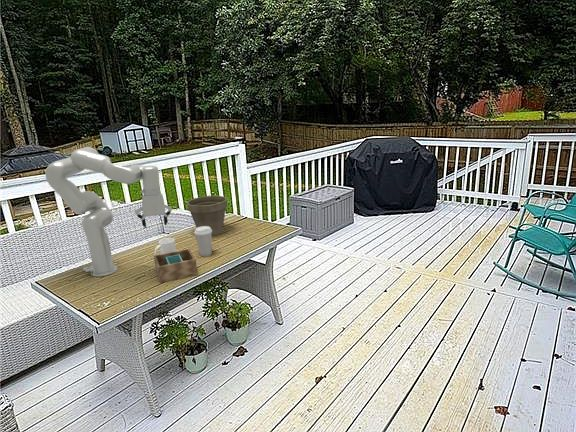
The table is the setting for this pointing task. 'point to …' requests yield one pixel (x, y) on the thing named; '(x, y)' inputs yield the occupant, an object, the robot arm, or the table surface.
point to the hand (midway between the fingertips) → (155, 225)
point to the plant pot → (208, 212)
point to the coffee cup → (204, 240)
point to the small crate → (173, 259)
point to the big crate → (175, 266)
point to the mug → (166, 246)
